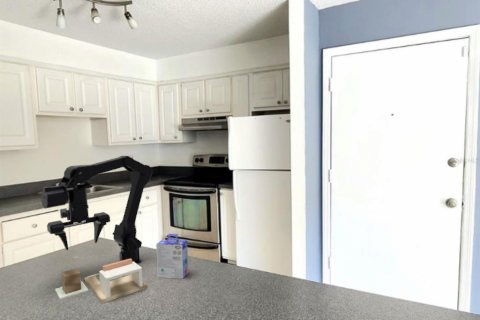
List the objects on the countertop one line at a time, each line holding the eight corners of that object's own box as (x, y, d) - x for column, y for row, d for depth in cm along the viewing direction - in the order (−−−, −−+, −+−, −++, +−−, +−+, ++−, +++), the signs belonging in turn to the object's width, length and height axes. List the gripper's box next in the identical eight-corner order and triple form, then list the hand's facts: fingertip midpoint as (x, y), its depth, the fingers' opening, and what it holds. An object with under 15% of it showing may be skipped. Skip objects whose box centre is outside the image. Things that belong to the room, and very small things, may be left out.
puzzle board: (124, 269, 115) (124, 265, 115) (147, 288, 100) (147, 284, 100) (84, 280, 106) (84, 277, 106) (102, 303, 91) (101, 299, 91)
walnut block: (77, 284, 102) (76, 268, 102) (81, 289, 99) (80, 272, 99) (62, 288, 99) (61, 272, 99) (65, 294, 96) (64, 277, 96)
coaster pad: (82, 282, 105) (81, 281, 105) (88, 291, 99) (88, 289, 99) (55, 290, 100) (54, 288, 100) (60, 300, 94) (59, 298, 94)
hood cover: (134, 278, 104) (133, 257, 104) (142, 285, 99) (141, 263, 98) (100, 289, 97) (98, 266, 97) (107, 297, 92) (105, 273, 91)
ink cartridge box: (189, 272, 111) (187, 233, 110) (183, 279, 106) (182, 238, 105) (163, 271, 113) (161, 232, 112) (156, 277, 107) (155, 237, 106)
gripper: (98, 195, 118) (101, 234, 119) (41, 203, 105) (46, 247, 107) (109, 199, 110) (112, 241, 111) (48, 209, 97) (53, 256, 99)
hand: (81, 246), depth 107 cm, fingers open, 9 cm apart
